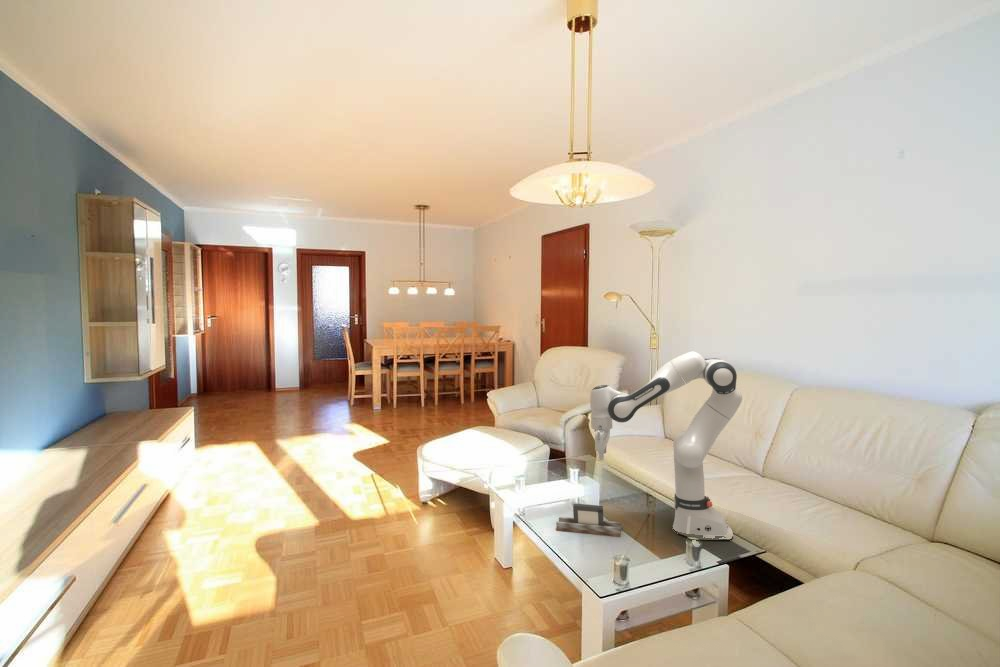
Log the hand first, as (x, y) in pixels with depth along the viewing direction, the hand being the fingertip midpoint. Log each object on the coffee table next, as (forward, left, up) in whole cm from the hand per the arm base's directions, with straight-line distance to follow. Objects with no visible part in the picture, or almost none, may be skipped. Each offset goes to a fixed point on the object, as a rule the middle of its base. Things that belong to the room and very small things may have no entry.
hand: (602, 456), depth 205 cm
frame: (+6, +7, -28) cm, 30 cm away
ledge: (+6, +7, -29) cm, 31 cm away
